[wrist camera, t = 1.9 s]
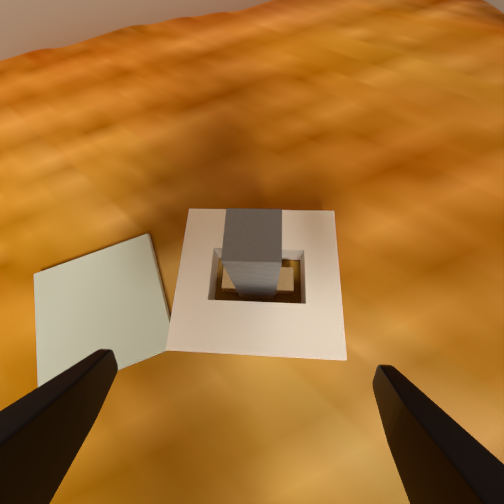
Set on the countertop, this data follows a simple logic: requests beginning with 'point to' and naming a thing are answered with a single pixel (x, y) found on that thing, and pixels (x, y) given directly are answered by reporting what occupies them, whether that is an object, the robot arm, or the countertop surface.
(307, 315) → the cover plate
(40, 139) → the countertop surface
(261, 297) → the t key
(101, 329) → the key mat
